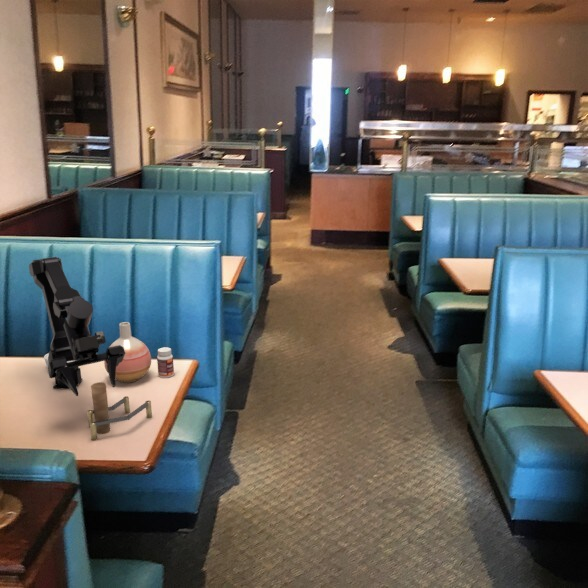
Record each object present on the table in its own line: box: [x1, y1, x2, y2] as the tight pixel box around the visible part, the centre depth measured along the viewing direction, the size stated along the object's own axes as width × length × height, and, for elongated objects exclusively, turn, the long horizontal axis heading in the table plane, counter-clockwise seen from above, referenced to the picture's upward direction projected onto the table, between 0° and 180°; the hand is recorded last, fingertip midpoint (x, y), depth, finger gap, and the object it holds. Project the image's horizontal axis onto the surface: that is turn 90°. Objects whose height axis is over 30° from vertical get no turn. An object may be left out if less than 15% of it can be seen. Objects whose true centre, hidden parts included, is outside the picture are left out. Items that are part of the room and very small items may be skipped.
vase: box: [103, 321, 152, 384], centre depth 186 cm, size 14×14×18 cm
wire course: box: [86, 395, 153, 441], centre depth 160 cm, size 15×16×4 cm
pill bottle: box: [156, 346, 175, 379], centre depth 190 cm, size 5×5×8 cm
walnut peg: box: [90, 381, 111, 435], centre depth 156 cm, size 4×4×12 cm
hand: (96, 390), depth 157 cm, fingers open, 9 cm apart
